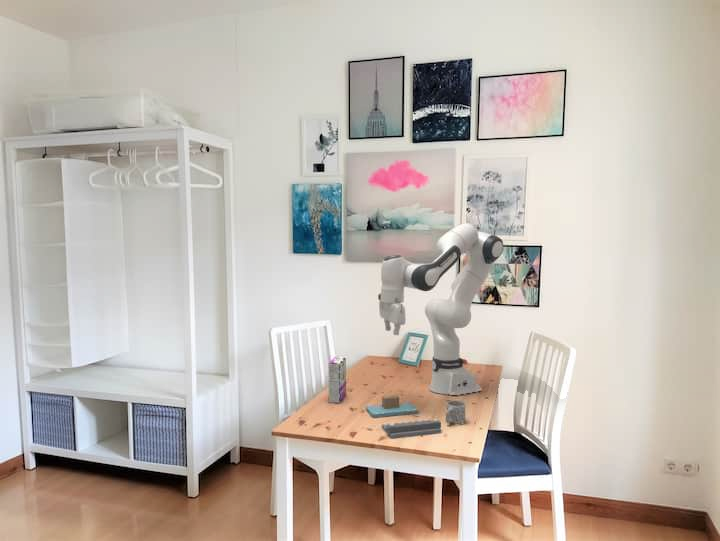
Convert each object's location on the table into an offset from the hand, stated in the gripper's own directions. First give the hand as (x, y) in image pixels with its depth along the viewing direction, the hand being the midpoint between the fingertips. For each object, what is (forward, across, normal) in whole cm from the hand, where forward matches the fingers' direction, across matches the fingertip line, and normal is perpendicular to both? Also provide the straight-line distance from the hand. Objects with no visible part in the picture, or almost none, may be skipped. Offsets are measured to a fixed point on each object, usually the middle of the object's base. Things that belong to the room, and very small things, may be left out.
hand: (392, 332), depth 208 cm
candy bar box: (+29, +14, +18) cm, 37 cm away
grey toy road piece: (+29, -26, +2) cm, 39 cm away
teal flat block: (+29, -6, +2) cm, 30 cm away
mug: (+29, -23, -16) cm, 40 cm away
